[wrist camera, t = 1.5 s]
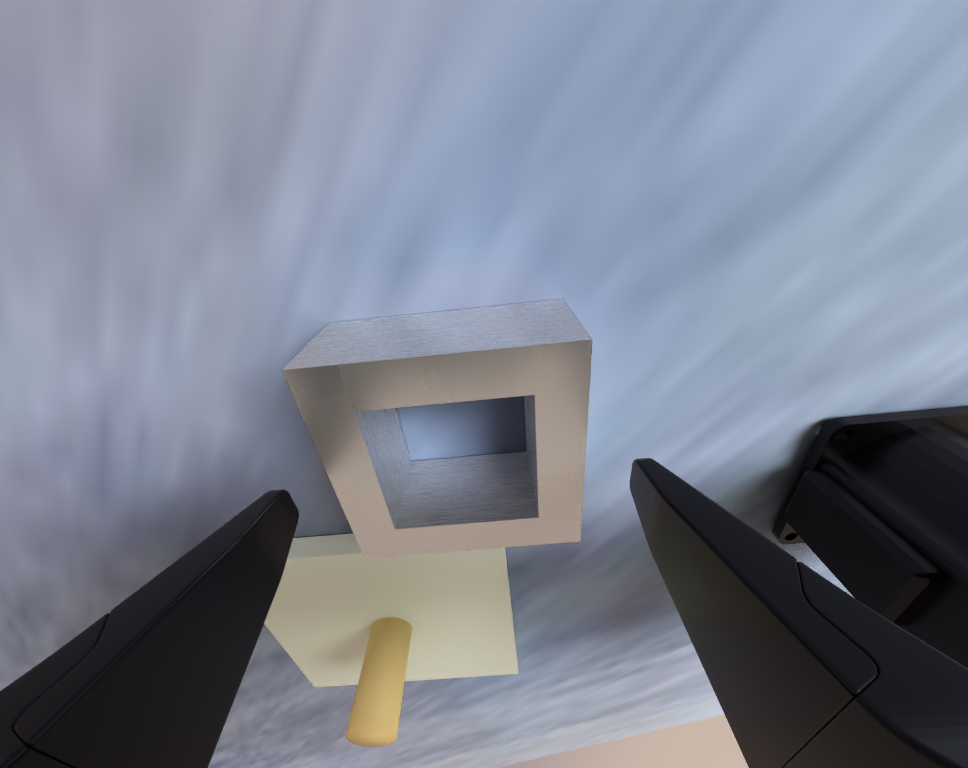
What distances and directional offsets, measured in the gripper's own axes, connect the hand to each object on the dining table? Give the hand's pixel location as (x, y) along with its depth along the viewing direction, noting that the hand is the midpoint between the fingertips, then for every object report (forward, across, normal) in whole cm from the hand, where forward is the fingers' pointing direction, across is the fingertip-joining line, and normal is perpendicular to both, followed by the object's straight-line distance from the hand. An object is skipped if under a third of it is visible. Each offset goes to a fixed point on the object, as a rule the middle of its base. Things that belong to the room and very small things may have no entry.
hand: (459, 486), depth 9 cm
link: (+4, 0, 0) cm, 4 cm away
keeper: (+4, +5, +12) cm, 14 cm away
